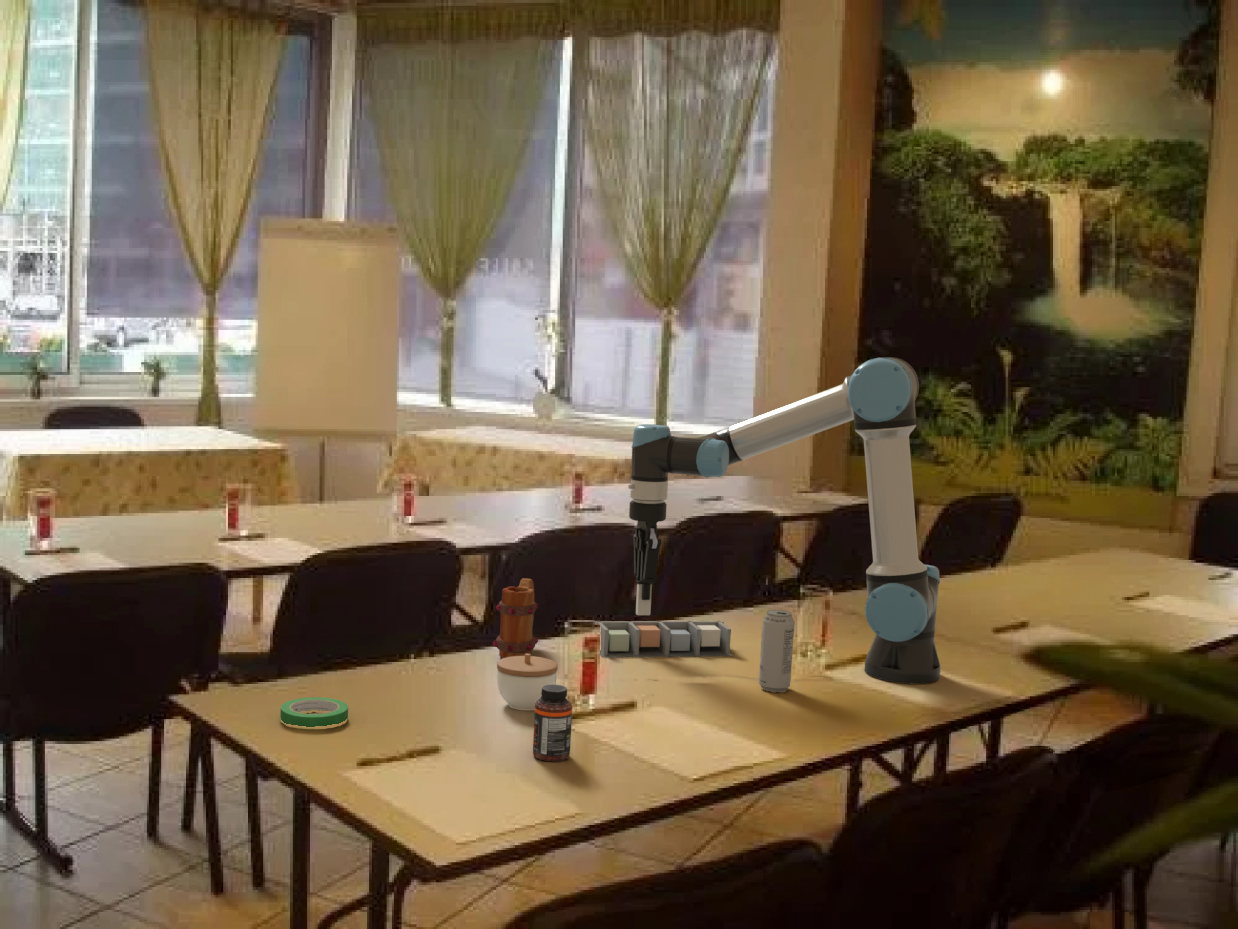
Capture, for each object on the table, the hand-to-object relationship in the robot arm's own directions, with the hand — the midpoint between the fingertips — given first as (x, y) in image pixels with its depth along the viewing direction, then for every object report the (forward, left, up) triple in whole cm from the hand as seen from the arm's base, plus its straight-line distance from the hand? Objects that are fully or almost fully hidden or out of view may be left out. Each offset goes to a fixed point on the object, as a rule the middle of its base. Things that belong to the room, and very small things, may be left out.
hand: (643, 614), depth 293 cm
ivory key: (0, -14, -6) cm, 16 cm away
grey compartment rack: (0, -5, -9) cm, 10 cm away
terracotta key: (0, -1, -6) cm, 7 cm away
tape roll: (-40, +67, -9) cm, 79 cm away
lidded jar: (-34, +30, -9) cm, 46 cm away
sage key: (0, +5, -7) cm, 9 cm away
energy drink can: (-26, -20, -9) cm, 34 cm away
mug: (+1, +25, -9) cm, 27 cm away
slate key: (0, -8, -7) cm, 11 cm away
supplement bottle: (-62, +31, -9) cm, 70 cm away
